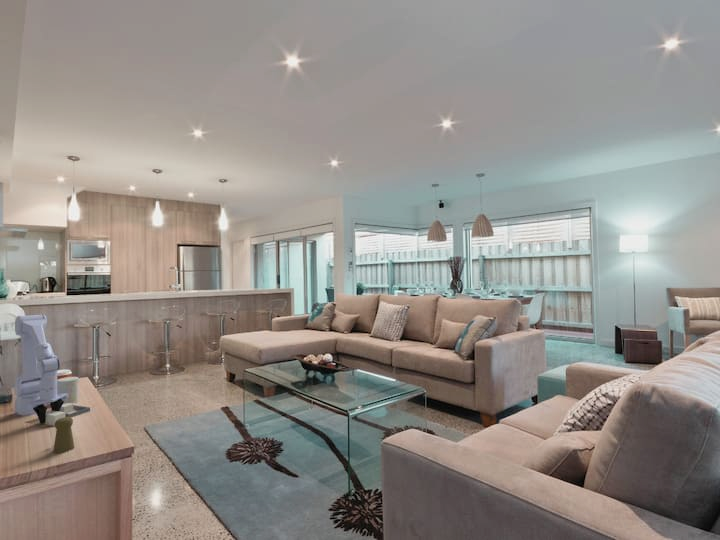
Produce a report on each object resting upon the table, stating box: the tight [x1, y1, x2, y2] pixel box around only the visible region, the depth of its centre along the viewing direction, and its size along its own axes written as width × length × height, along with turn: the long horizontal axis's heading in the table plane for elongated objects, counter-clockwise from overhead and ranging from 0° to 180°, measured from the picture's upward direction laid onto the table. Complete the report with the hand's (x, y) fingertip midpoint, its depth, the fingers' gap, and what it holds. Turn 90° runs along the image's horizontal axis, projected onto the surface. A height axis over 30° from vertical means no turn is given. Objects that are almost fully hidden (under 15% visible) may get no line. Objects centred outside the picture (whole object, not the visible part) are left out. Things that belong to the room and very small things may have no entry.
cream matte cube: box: [59, 403, 74, 414], centre depth 174 cm, size 4×4×4 cm
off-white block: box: [48, 411, 65, 427], centre depth 161 cm, size 4×4×4 cm
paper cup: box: [57, 369, 73, 380], centre depth 196 cm, size 8×8×14 cm
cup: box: [57, 376, 80, 404], centre depth 189 cm, size 8×8×12 cm
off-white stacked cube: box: [42, 409, 57, 424], centre depth 162 cm, size 4×4×4 cm
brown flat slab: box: [24, 417, 55, 428], centre depth 163 cm, size 16×7×2 cm, turn 70°
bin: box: [65, 404, 91, 418], centre depth 173 cm, size 13×9×3 cm
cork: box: [52, 417, 75, 454], centre depth 141 cm, size 6×6×11 cm
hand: (48, 420), depth 162 cm, fingers closed on off-white stacked cube, 4 cm apart
